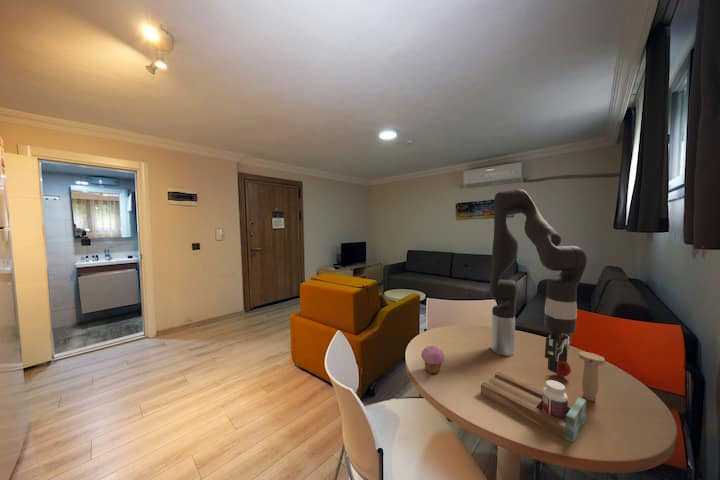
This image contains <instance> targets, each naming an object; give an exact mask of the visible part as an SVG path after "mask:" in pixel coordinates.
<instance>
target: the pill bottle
mask: <svg viewBox="0 0 720 480" xmlns="http://www.w3.org/2000/svg"><path fill="white" fill-rule="evenodd" d="M542 392H543V402H542V408H541V409H542V410H541V411H543V412H545V413H547V414H550V415H552V416H554V417H556V418H558V419H560V420H562V421H564V422H566V414H567V411H568V403H569V397H568V395H567V393H566V387H565V385H564V384H563V383H561V382H559V381H557V380H552V379H548V380H546V382H545V387H543V389H542Z"/></svg>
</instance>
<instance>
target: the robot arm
mask: <svg viewBox="0 0 720 480" xmlns="http://www.w3.org/2000/svg"><path fill="white" fill-rule="evenodd" d="M518 214H522V215H524V216H525V222H524V227H523V228H524V232H525V235H526V236H527V238H528V239H529V241H530V242H531V243H532V244H533V245H534V246H535V249H536V251H537V254H538V256H539V257H538V258H539V260H540V263H541V264H542V266H543V267H544V268H546V269H547V270H549V271H553V272H555V271H556V272H557V271H560V273H559V275H556V276H554V277H550V278H548V280H547V282H546V294H545V295H546V296H545V297H546V298H545V302H544V313H543V315H544V318H543V319H544V321H543V326H544V327H545V328H546V329H547V330H549V331H550V333H549V335H548V336H547V337H546V338H545V347H544V358H545V359H547V360H548V361H547V370H548V371H550V372H552V373H554V374H556V372H557V371H558V360H560V361H563V362H568V351H569V350H570V347H571V345H572V334H575V333H576V331H577V318H578V317H577V316H578V304H577V296H578V286H579V284H580V283H581V282H580V281H581V280H582V276H583V274H584V272H585V269H586V267H587V261H588V260H587V255H586V252H585V251H584V249H582V248H581V247H579V246H576V245H561V242H562V237H561V235H560V234H559V233H558V232H557V231H556V230H555V228H553V227H552V226H551V225H550V224H549V223H548V221H547V220H546V219H544V217H543V215H542V214H541V212H540V211H539V209H538V207H537V206H536V204H535V203H534V201H533V199H532V197H531V196H530V195H529V194H528V192H527V191H525V190H524V189H520V188H516V189H511V190H504V191H499V192H497V193H496V194H495V195H494V197H493V239H492V240H493V241H492V254H491V259H492V260H491V273H490V279H489V280H490V281H489V288H488V291H489V293H488V294H489V296H490V298H491V299H492V300H497V301H498V300H499V301H505V302H504V303H501V304H496V305H494V306H493V307H492V311H491V343H490V344H491V346H490V347H491V350H492V352H493V353H495V354H498V355H500V356H509V357H510V356H513V355H514V354H515V337H516V336H515V335H516V310H517V309H516V308H517V307H516V303H517V293H518V292H517V291H518V286H517V282H516V281H515V280H512V279H501V277H502V275H503V274H504V273H505V272H506V271H507V270H509V268H510V267H511V266H512V265H513V264H514V263H515V262H516V260H517V259H518V252H519V251H518V250H519V249H518V248H519V241H518V240H517V238H516V237H515V235H514V234H513V233H512V231H511V230H510V228H509V227H508V224H507V223H508V222H507V217H508V216H510V215H518ZM552 353H553V354H552Z"/></svg>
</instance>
